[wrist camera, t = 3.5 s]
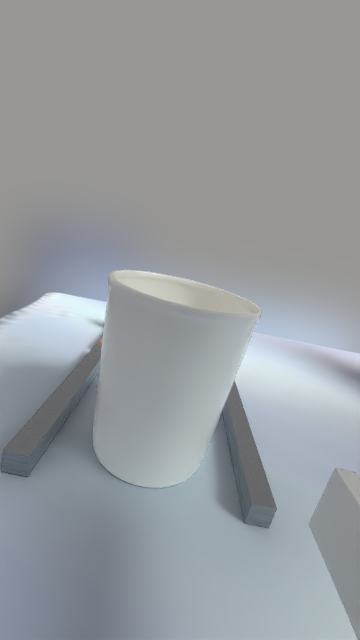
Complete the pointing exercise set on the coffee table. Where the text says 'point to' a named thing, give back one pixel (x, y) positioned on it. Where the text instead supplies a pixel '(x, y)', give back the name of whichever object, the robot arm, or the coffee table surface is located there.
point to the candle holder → (165, 373)
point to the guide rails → (61, 403)
